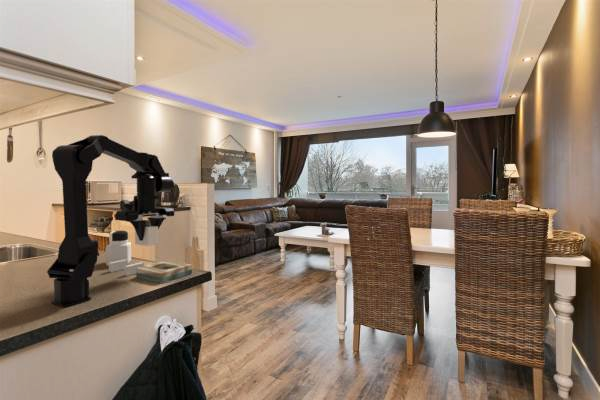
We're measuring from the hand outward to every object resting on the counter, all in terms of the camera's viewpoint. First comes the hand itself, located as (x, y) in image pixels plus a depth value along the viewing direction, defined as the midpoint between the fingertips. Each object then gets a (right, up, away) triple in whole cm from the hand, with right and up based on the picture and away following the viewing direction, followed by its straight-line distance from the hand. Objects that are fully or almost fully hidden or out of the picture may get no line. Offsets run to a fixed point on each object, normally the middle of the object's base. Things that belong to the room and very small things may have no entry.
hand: (146, 239), depth 108 cm
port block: (+6, -12, -1) cm, 13 cm away
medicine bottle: (-17, -11, +14) cm, 24 cm away
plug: (0, -2, 0) cm, 2 cm away
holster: (-8, -11, +2) cm, 14 cm away
